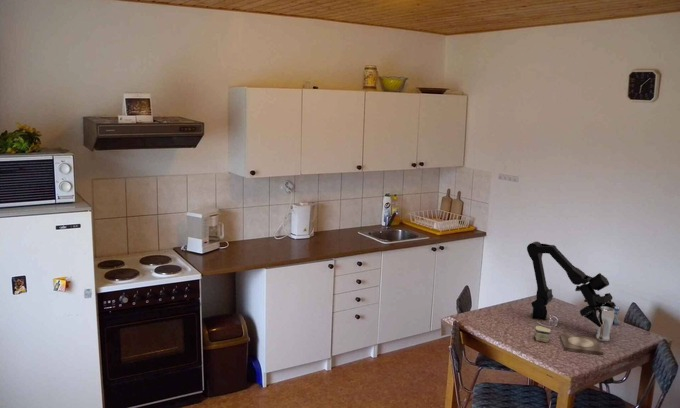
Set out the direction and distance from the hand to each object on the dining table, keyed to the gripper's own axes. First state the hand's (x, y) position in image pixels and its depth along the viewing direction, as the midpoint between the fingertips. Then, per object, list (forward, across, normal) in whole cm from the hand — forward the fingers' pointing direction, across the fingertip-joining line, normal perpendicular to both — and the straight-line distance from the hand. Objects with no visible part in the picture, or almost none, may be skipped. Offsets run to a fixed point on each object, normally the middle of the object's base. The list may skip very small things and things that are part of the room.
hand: (607, 325), depth 266 cm
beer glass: (+4, 0, +6) cm, 8 cm away
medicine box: (-5, +22, +16) cm, 27 cm away
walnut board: (+5, -17, +5) cm, 18 cm away
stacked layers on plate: (-3, -29, +14) cm, 32 cm away
